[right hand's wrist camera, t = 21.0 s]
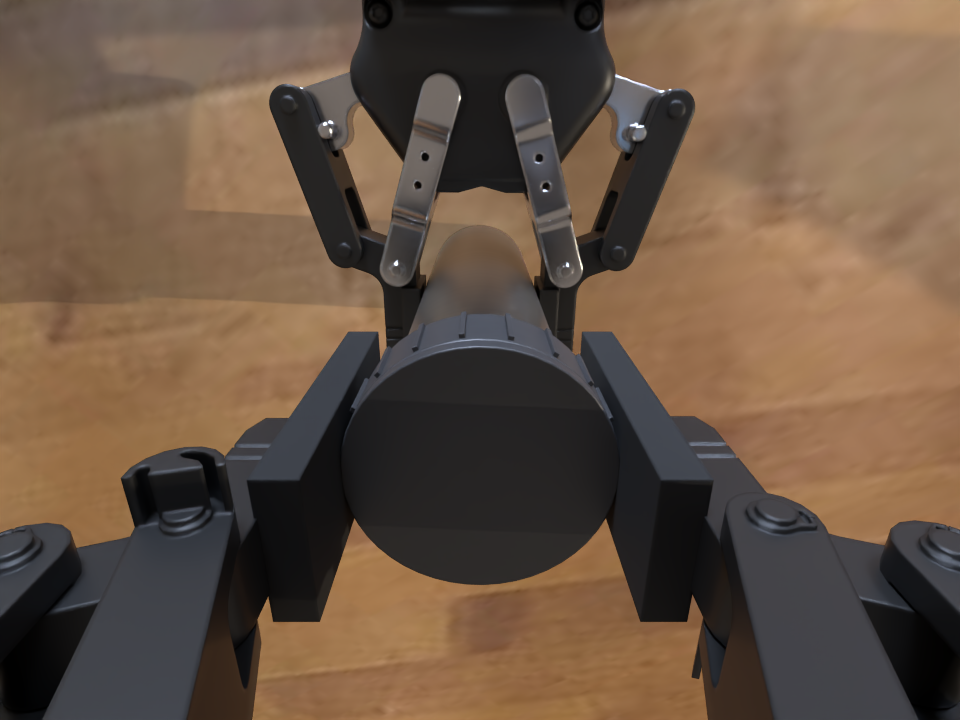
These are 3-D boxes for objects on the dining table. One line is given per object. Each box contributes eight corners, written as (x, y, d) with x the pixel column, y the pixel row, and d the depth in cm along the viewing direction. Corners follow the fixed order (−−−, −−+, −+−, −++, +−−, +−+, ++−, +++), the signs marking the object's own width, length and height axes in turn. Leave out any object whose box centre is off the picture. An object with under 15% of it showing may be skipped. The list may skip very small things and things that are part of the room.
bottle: (502, 209, 25) (538, 318, 10) (538, 292, 27) (618, 499, 11) (419, 248, 26) (330, 408, 10) (458, 326, 27) (432, 568, 12)
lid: (624, 495, 13) (648, 555, 11) (405, 548, 13) (393, 612, 11) (572, 278, 11) (591, 306, 9) (319, 350, 11) (288, 390, 9)
